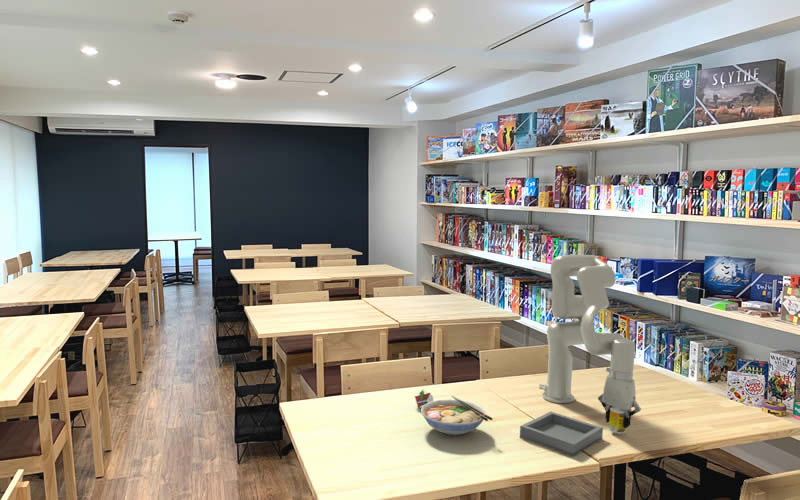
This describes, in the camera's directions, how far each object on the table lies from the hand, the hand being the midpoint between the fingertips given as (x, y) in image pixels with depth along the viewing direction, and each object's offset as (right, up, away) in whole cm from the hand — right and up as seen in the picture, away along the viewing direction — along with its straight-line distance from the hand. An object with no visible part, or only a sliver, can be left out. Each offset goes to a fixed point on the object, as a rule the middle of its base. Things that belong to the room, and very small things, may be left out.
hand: (617, 423), depth 204 cm
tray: (-21, -4, -5) cm, 22 cm away
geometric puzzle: (-67, 0, +21) cm, 70 cm away
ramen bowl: (-58, -3, 0) cm, 58 cm away
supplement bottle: (0, -3, 0) cm, 3 cm away
